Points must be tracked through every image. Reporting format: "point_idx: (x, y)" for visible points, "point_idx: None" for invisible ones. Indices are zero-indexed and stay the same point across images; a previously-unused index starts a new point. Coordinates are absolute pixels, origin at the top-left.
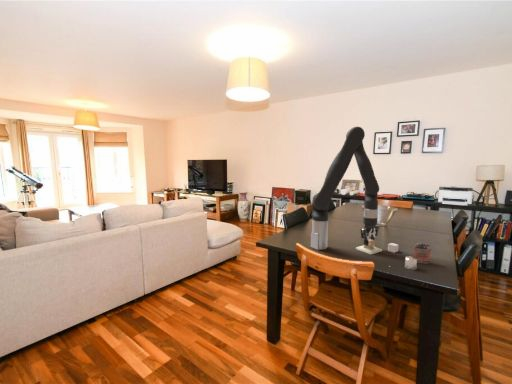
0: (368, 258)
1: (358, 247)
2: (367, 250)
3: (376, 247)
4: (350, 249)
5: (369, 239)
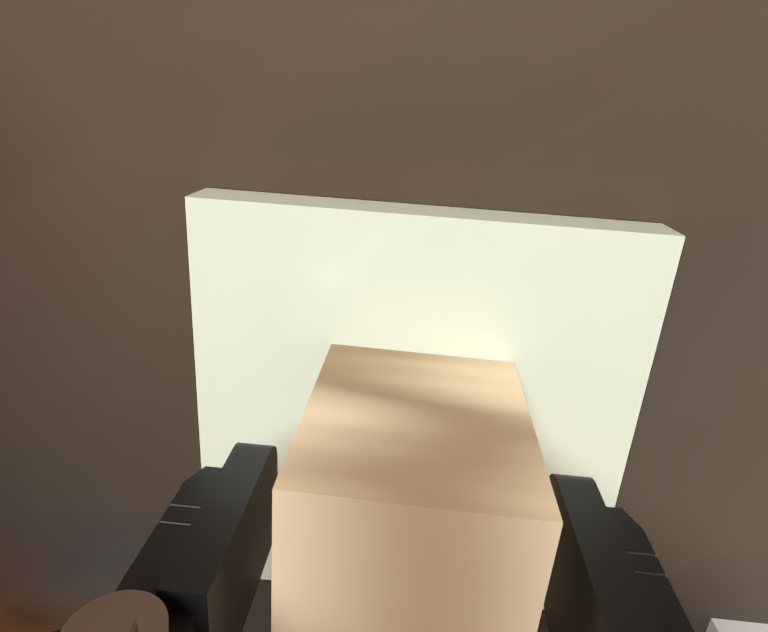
0: (30, 589)
1: (230, 246)
2: None
3: (613, 506)
4: (64, 105)
5: (473, 590)
